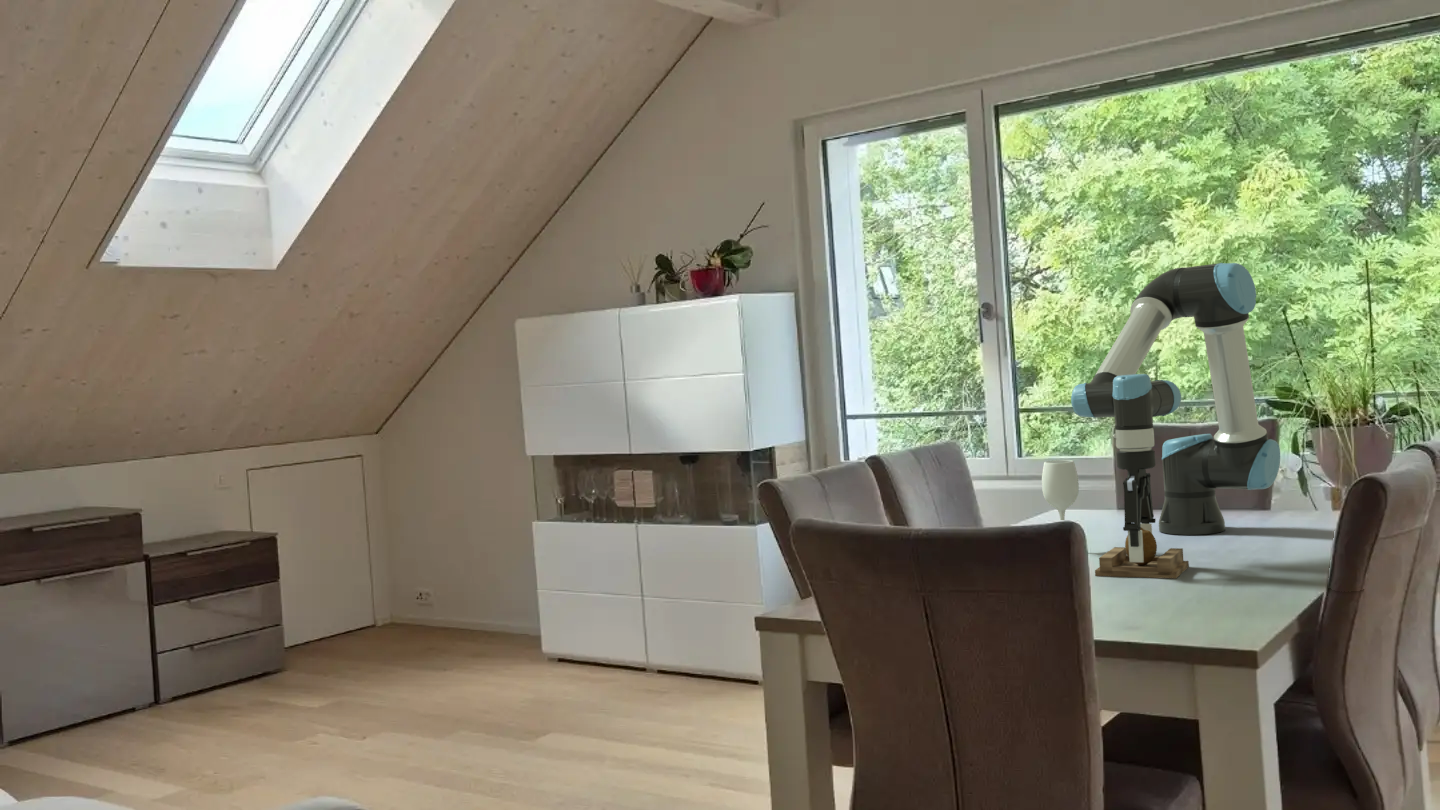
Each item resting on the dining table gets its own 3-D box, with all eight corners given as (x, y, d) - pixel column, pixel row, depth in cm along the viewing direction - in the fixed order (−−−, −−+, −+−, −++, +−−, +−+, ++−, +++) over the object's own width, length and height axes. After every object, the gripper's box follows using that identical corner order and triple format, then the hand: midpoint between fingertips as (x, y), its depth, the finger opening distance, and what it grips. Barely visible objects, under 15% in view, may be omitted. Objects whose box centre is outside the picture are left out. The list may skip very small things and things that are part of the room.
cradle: (1110, 564, 269) (1109, 547, 269) (1188, 566, 260) (1187, 548, 260) (1095, 576, 258) (1094, 557, 258) (1176, 578, 249) (1175, 559, 249)
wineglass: (1085, 554, 283) (1079, 462, 282) (1045, 555, 285) (1040, 464, 284) (1082, 548, 291) (1076, 458, 291) (1043, 549, 293) (1038, 460, 292)
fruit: (1119, 565, 260) (1117, 527, 260) (1142, 561, 263) (1140, 524, 263) (1141, 569, 255) (1138, 530, 255) (1164, 565, 257) (1162, 526, 257)
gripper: (1128, 444, 269) (1134, 549, 270) (1104, 454, 251) (1110, 566, 252) (1164, 443, 265) (1170, 549, 266) (1142, 454, 247) (1149, 568, 248)
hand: (1141, 558), depth 259 cm, fingers open, 8 cm apart
